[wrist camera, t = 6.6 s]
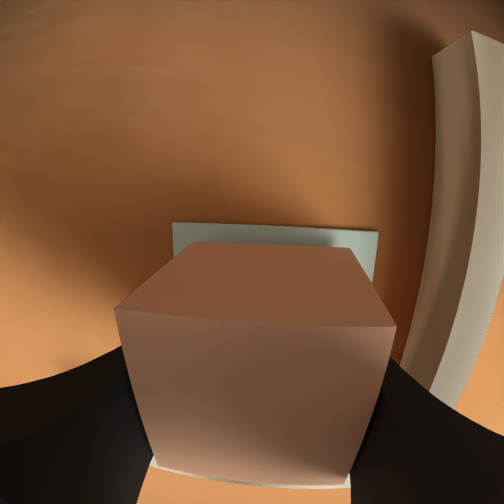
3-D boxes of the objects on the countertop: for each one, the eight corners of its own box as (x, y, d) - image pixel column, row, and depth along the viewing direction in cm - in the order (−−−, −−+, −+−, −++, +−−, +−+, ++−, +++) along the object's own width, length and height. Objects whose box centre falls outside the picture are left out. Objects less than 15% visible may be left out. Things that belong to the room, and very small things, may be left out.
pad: (377, 231, 10) (378, 232, 10) (347, 392, 12) (348, 395, 12) (173, 222, 11) (172, 223, 11) (187, 380, 13) (186, 382, 13)
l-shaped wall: (465, 66, 8) (509, 46, 5) (398, 437, 13) (409, 480, 10) (77, 67, 9) (28, 53, 7) (118, 411, 14) (94, 448, 11)
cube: (350, 247, 9) (396, 326, 5) (332, 375, 11) (343, 484, 6) (193, 241, 10) (114, 307, 5) (202, 367, 11) (157, 465, 7)
